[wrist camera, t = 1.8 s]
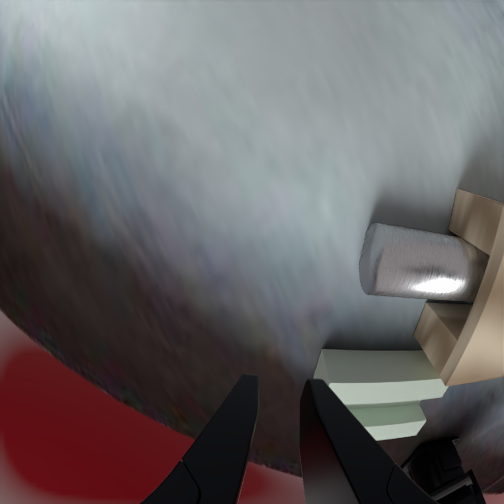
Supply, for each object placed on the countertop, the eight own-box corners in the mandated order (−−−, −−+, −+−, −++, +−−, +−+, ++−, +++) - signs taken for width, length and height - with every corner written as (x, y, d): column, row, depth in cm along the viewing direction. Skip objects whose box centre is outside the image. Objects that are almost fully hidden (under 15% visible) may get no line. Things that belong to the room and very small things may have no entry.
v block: (404, 407, 23) (415, 435, 20) (301, 411, 23) (305, 443, 20) (435, 349, 20) (453, 377, 17) (321, 348, 20) (329, 382, 17)
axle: (519, 253, 18) (552, 254, 14) (514, 300, 18) (546, 306, 14) (362, 225, 18) (390, 219, 14) (355, 290, 18) (381, 300, 14)
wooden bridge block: (468, 334, 20) (502, 376, 14) (413, 334, 20) (445, 386, 14) (510, 205, 16) (563, 229, 11) (456, 188, 16) (514, 210, 11)
